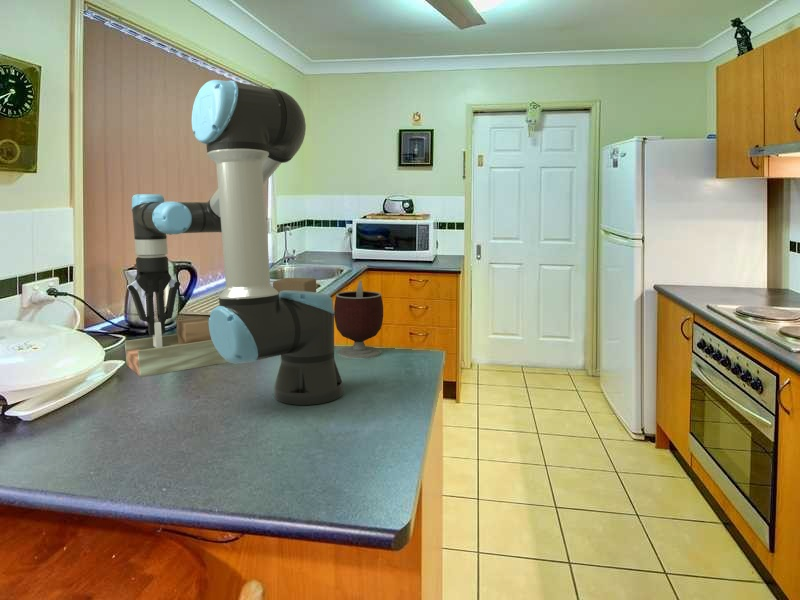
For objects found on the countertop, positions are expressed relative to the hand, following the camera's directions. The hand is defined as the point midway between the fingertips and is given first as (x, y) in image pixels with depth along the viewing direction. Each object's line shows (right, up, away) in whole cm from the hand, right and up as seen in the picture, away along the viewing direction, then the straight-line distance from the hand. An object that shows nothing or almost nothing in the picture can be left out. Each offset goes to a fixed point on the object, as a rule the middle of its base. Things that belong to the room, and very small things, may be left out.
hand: (157, 346), depth 148 cm
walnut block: (+8, 0, +6) cm, 10 cm away
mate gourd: (+51, -3, +16) cm, 54 cm away
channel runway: (+8, -4, +7) cm, 12 cm away
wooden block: (+32, -2, +24) cm, 40 cm away
